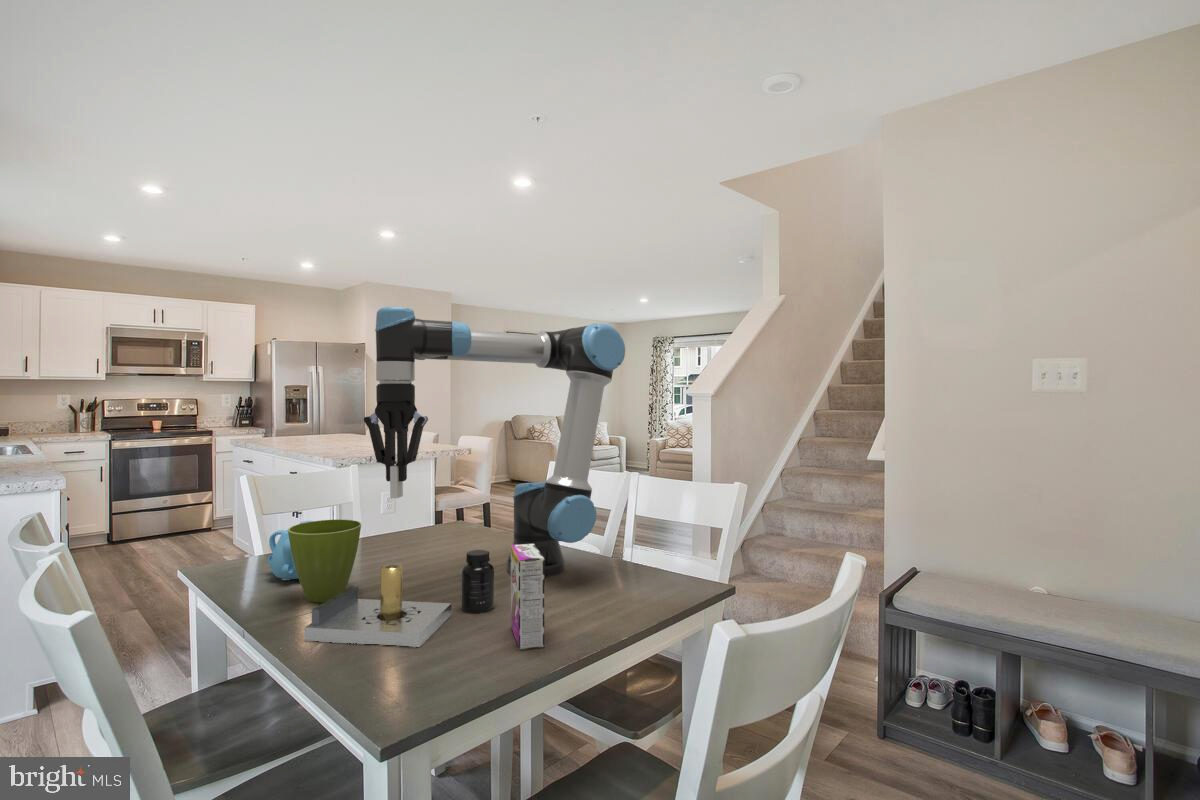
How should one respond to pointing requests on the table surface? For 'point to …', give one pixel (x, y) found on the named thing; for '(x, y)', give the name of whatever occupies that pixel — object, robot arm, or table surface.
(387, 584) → the cylinder
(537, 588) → the candy bar box
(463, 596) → the supplement bottle
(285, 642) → the table surface
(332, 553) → the flower pot
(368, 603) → the plate
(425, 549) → the table surface
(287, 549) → the decorative pot
